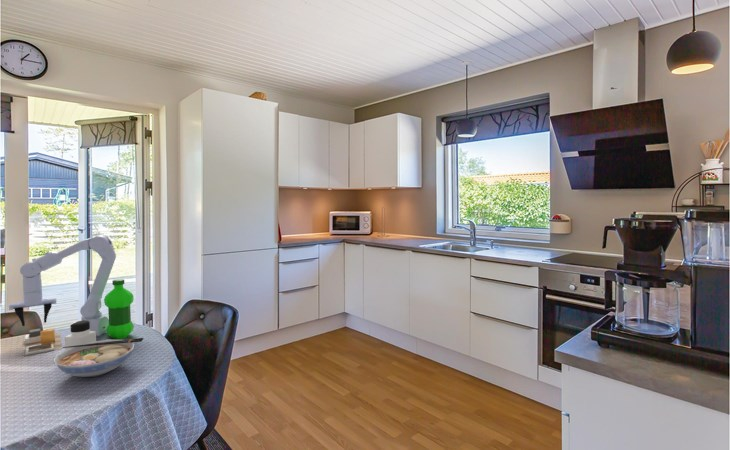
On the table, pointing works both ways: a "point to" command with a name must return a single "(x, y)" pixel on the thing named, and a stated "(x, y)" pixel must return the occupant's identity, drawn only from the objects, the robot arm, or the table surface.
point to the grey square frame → (39, 350)
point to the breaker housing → (32, 339)
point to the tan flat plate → (56, 346)
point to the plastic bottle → (119, 310)
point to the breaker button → (34, 333)
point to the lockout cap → (47, 336)
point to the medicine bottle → (80, 334)
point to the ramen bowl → (95, 357)
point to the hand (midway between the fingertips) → (34, 323)
